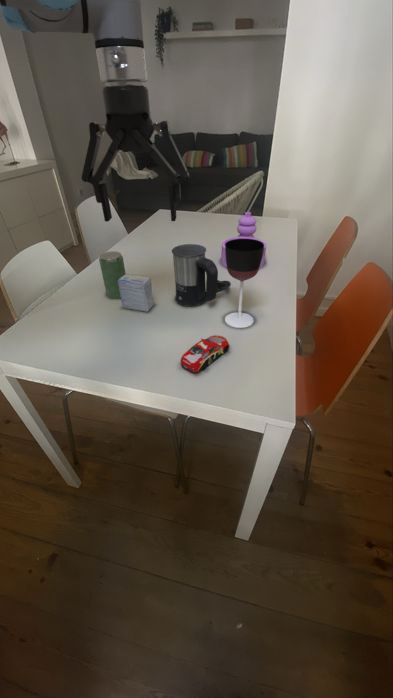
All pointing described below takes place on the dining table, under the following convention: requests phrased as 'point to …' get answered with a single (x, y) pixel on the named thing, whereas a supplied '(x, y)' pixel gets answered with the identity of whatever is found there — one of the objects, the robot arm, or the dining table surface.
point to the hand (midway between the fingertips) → (141, 219)
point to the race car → (204, 353)
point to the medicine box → (136, 292)
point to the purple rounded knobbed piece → (244, 235)
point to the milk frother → (195, 275)
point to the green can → (112, 272)
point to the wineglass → (242, 272)
